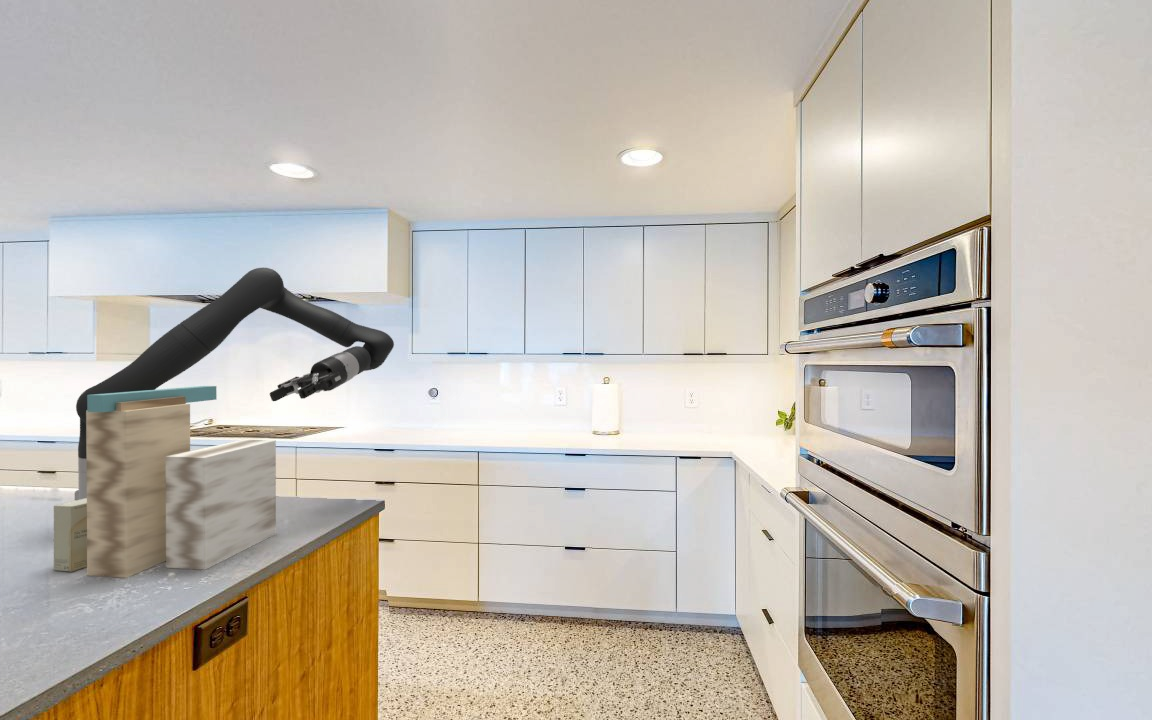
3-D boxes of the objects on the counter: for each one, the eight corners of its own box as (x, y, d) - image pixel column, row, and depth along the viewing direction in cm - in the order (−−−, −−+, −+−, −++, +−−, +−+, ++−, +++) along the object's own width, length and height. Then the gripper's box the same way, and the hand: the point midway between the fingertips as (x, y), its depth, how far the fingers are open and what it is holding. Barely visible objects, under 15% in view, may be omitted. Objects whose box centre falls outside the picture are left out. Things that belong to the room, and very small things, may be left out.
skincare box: (71, 572, 100) (70, 506, 99) (52, 570, 100) (51, 505, 100) (107, 560, 106) (106, 497, 106) (88, 558, 107) (88, 496, 106)
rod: (87, 411, 96) (87, 394, 96) (204, 399, 122) (204, 385, 122) (102, 412, 95) (102, 395, 95) (216, 399, 121) (216, 386, 121)
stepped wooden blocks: (87, 575, 98) (86, 402, 98) (197, 530, 123) (197, 392, 123) (182, 581, 96) (182, 404, 96) (275, 534, 121) (275, 393, 121)
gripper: (308, 359, 137) (256, 383, 123) (353, 353, 133) (304, 377, 118) (318, 386, 140) (268, 413, 125) (363, 382, 135) (316, 409, 120)
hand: (285, 396), depth 122 cm, fingers open, 8 cm apart
